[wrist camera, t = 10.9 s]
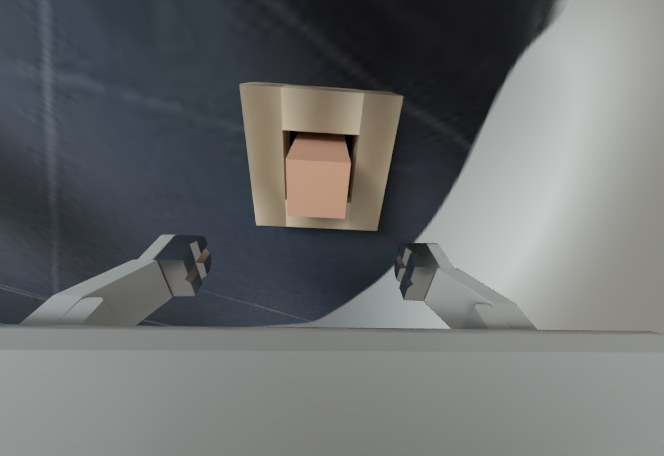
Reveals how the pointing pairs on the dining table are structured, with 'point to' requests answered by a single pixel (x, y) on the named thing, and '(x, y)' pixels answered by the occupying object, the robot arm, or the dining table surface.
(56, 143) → the dining table surface
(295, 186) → the peg
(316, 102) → the socket block
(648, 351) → the robot arm
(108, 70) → the dining table surface
